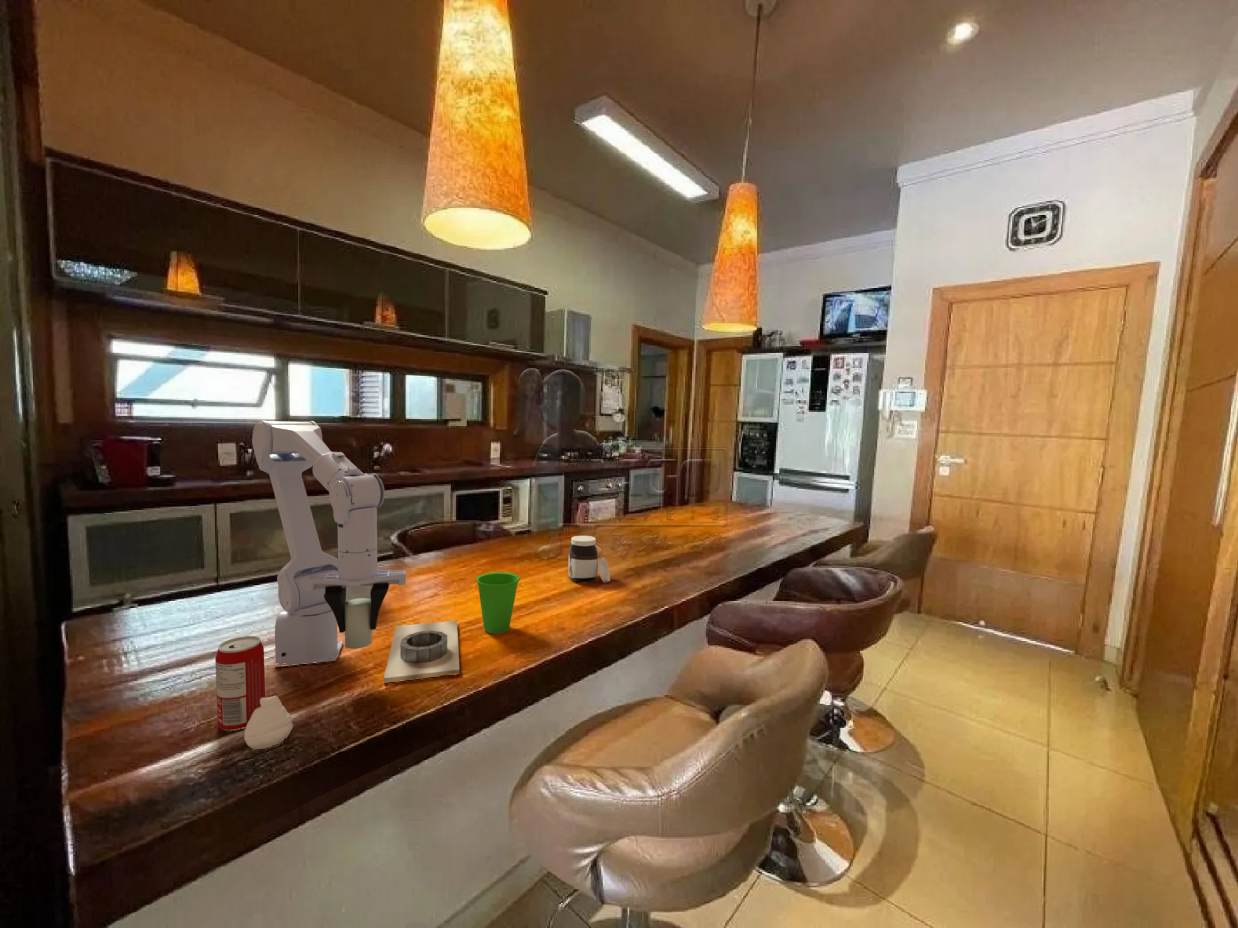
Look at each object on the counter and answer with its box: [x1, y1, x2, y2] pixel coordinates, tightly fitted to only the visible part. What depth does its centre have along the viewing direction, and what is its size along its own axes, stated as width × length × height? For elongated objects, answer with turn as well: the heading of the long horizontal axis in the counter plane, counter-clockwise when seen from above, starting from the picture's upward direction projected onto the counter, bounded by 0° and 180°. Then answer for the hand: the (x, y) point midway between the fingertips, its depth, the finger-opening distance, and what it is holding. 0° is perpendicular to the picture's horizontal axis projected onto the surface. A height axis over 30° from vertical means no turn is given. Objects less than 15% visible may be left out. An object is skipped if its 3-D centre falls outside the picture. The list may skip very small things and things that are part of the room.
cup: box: [475, 571, 521, 635], centre depth 108 cm, size 9×9×11 cm
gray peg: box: [344, 598, 373, 650], centre depth 85 cm, size 4×4×7 cm
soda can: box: [214, 635, 266, 730], centre depth 73 cm, size 6×6×12 cm
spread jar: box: [567, 535, 611, 583], centre depth 143 cm, size 12×11×12 cm
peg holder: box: [383, 620, 460, 683], centre depth 97 cm, size 12×22×4 cm, turn 19°
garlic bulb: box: [243, 695, 294, 749], centre depth 70 cm, size 6×6×5 cm
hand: (358, 628), depth 85 cm, fingers closed on gray peg, 4 cm apart
